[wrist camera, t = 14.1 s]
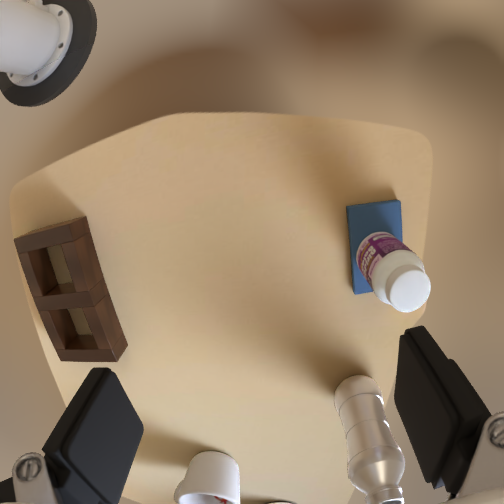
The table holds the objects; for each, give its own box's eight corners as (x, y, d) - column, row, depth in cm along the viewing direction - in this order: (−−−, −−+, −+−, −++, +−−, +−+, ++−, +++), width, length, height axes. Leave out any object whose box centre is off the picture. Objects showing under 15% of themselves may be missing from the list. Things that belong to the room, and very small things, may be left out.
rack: (31, 230, 36) (13, 239, 32) (86, 215, 35) (68, 223, 31) (73, 346, 42) (60, 361, 38) (128, 345, 41) (117, 362, 37)
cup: (201, 482, 51) (193, 523, 41) (163, 457, 49) (150, 499, 39) (255, 465, 48) (252, 511, 38) (217, 438, 46) (209, 487, 36)
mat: (345, 205, 33) (348, 207, 32) (397, 199, 33) (400, 200, 32) (352, 291, 36) (354, 294, 35) (400, 282, 36) (402, 286, 35)
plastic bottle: (354, 408, 42) (381, 522, 23) (321, 391, 41) (340, 516, 22) (386, 380, 40) (429, 495, 21) (353, 361, 39) (392, 487, 21)
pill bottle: (352, 235, 33) (380, 268, 24) (397, 226, 33) (438, 255, 24) (357, 281, 35) (383, 325, 26) (400, 272, 34) (436, 311, 25)
